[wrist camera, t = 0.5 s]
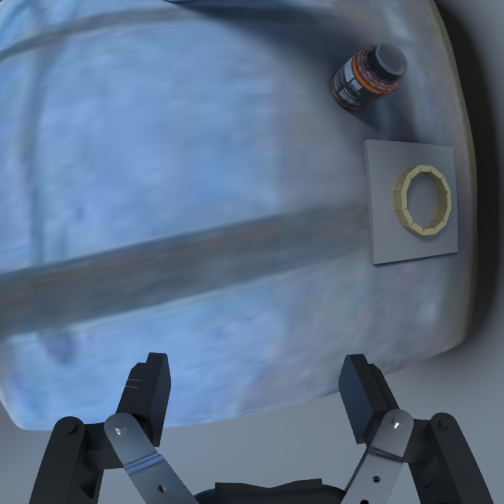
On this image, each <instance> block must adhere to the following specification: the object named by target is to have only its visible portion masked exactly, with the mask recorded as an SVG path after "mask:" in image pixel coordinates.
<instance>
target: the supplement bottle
mask: <svg viewBox="0 0 504 504" xmlns="http://www.w3.org/2000/svg"><path fill="white" fill-rule="evenodd" d="M406 70H407V60H406V58H405V56H404V54H403V53H402V52H401V50H400V49H398V48H397V47H396V46H394V45H392V44H390V43H381V44H379V45H378V46H375V45H370V46H365V47H363V48H362V49H360V50H359V51H358V52H357V53H356V54H355V55H354V56H352V57H351V58H350V59H349V60H348V61H347V62H346V63H345V64H344V65H343V66H342V67H341V68H340V69H339V70H338V71H337V72H336V73H335V74H334V75H333V77H332V79H331V82H330V89H331V93H332V95H333V97H334V98H335V100H336V101H337V102H338V103H339V104H340V105H342V106H343V107H345V108H347V109H350V110H360V109H362V108H365V107H366V106H368V105H370V104H371V103H373V102H375V101H376V100H378V99H380V98H382V97H383V96H385V95H387V94H389V93H390V92H392V91H393V90H395V89H396V88H397V87H398V86H399V85H400V83H401V80H402V75H403V74H404V73H405V72H406Z"/></svg>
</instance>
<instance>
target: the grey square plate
mask: <svg viewBox="0 0 504 504" xmlns="http://www.w3.org/2000/svg"><path fill="white" fill-rule="evenodd" d="M363 149H364V158H365V168H366V180H367V193H368V208H369V229H370V263H372V264H379V263H387V262H394V261H401V260H408V259H414V258H421V257H428V256H434V255H441V254H447V253H454V252H458V211H457V190H456V177H455V166H454V156H453V148H452V147H447V146H439V145H430V144H421V143H410V142H398V141H384V140H367V139H366V140H363ZM417 165H424V166H433V167H434V168H435V169H436V170H438V171H439V172H440V173H441V174H442V175H443V176H444V177H445V180H446V182H447V184H448V186H449V189H450V191H451V211H450V214H449V217H448V220H447V223H446V225H445V226H444V227H443V228H442V229H440V230H439V231H438V232H437V233H436V234H431V235H418V234H413V233H412V232H410V231H409V230H407V229H406V228H404V227H403V226H402V225H401V223H400V221H399V219H398V217H397V215H396V213H395V211H394V202H393V190H394V187H395V184H396V182H397V179H398V176H399V175H400V174H401V173H403V172H404V171H405V170H407V169H408V168H409V167H411V166H417ZM406 196H407V209H408V211H409V213H410V215H411V217H412V220H413V222H414V223H416V224H417V225H419V226H420V227H421V228H422V227H427V226H428V225H429V224H430V223H431V222H432V221H433V220H434V219H435V216H436V213H437V210H438V208H439V201H438V191H437V189H436V187H435V185H434V183H433V181H432V180H431V179H430V178H429V177H428V176H426V175H425V174H424V173H418V174H417V175H415V176H414V177H413V178H412V179H411V181H410V184H409V187H408V189H407V192H406Z"/></svg>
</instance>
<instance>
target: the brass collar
mask: <svg viewBox="0 0 504 504" xmlns="http://www.w3.org/2000/svg"><path fill="white" fill-rule="evenodd" d="M418 173H424V174H425V175H426V176H428V177H429V178H430V179H431V180H432V181H433V183H434V185H435V187H436V189H437V191H438V201H439V208H438V210H437V213H436V216H435V219H434V220H433V221H432V222H431V223H430V224H429V225H428V226H427V227H422V228H421V227H420V226H419V225H417V224H416V223H414V222H413V220H412V217H411V215H410V213H409V211H408V209H407V196H406V192H407V189H408V187H409V184H410V181H411V179H412V178H413V177H414V176H415V175H417V174H418ZM393 202H394V211H395V213H396V215H397V217H398V219H399V221H400V223H401V225H402V226H403V227H404V228H406V229H407V230H409V231H410V232H412V233H413V234H418V235H431V234H436V233H437V232H438V231H439V230H440V229H442V228H443V227H444V226H445V225H446V223H447V220H448V217H449V214H450V211H451V191H450V189H449V186H448V184H447V182H446V180H445V177H444V176H443V175H442V174H441V173H440V172H439V171H438V170H436V169H435V168H434V167H433V166H424V165H417V166H411V167H409V168H408V169H407V170H405V171H404V172H403V173H401V174H400V175H399V176H398V179H397V182H396V184H395V187H394V190H393Z"/></svg>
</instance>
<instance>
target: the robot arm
mask: <svg viewBox="0 0 504 504" xmlns="http://www.w3.org/2000/svg"><path fill="white" fill-rule="evenodd" d="M167 1H171V2H186V1H191V0H167ZM170 389H171V376H170V370H169V364H168V357H167V354H165V353H153V352H150V353H149V355H148V358H147V361H146V363H139V362H138V363H137V364H136V365H135V366H134V367H133V368H132V369H131V371H130V374H129V377H128V380H127V382H126V387H125V388H124V391H123V394H122V396H121V399H120V402H119V405H118V408H117V411H116V413H115V414H113V415H111V416H109V417H108V418H107V419H106V421H105V422H103V423H96V424H84V423H83V422H82V421H81V420H80V419H79V418H76V417H72V416H68V417H64V418H62V419H60V420H59V421H58V422H57V423H56V424H55V426H54V429H53V431H52V434H51V437H50V440H49V442H48V445H47V448H46V451H45V454H44V456H43V459H42V462H41V466H40V468H39V472H38V475H37V478H36V481H35V484H34V488H33V491H32V494H31V498H30V502H29V504H97V503H98V498H99V491H100V487H101V482H102V476H103V471H104V469H115V468H125V470H126V472H127V473H128V475H129V477H130V479H131V480H132V482H133V483H134V485H135V487H136V488H137V490H138V491H139V493H140V495H141V496H142V498H143V499H144V501H145V502H146V504H386V503H387V501H388V499H389V497H390V494H391V492H392V490H393V487H394V485H395V483H396V481H397V478H398V476H399V473H400V470H401V468H402V465H403V462H405V463H408V465H409V468H410V471H411V473H412V477H413V480H414V483H415V486H416V489H417V493H418V496H419V500H420V503H421V504H494V503H493V501H492V498H491V496H490V493H489V491H488V488H487V486H486V484H485V481H484V479H483V476H482V474H481V472H480V470H479V467H478V465H477V463H476V461H475V458H474V456H473V454H472V452H471V450H470V448H469V446H468V444H467V442H466V439H465V437H464V435H463V433H462V431H461V429H460V427H459V425H458V423H457V421H456V420H455V418H454V417H453V416H451V415H450V414H447V413H442V412H441V413H437V414H435V415H434V416H433V417H432V418H431V420H418V419H413V418H412V416H411V415H410V414H409V413H408V412H406V411H403V410H400V409H399V407H398V405H397V402H396V400H395V398H394V396H393V394H392V392H391V390H390V388H389V387H388V384H387V382H386V380H385V378H384V376H383V374H382V372H381V370H380V369H378V368H377V367H376V366H375V365H374V364H368V362H367V360H366V358H365V356H364V355H363V354H353V355H347V356H346V357H345V360H344V364H343V367H342V370H341V374H340V377H339V391H340V394H341V397H342V400H343V403H344V406H345V409H346V412H347V415H348V418H349V421H350V424H351V427H352V430H353V433H354V436H355V439H356V442H357V444H362V443H366V446H367V448H366V450H365V452H364V454H363V456H362V458H361V460H360V462H359V464H358V466H357V468H356V469H355V471H354V473H353V475H352V477H351V478H350V480H349V482H348V483H347V485H346V487H345V488H344V490H342V489H339V488H337V487H333V486H329V485H323V484H322V479H321V478H320V479H310V480H300V481H294V482H291V483H287V484H284V485H280V486H277V487H273V488H265V487H259V486H254V485H249V484H244V483H217V482H216V483H215V489H209V490H206V491H203V492H201V493H198V494H196V495H194V496H193V495H192V494H191V493H190V491H189V490H188V489H187V488H186V486H185V485H184V484H183V482H182V481H181V480H180V479H179V477H178V476H177V475H176V473H175V472H174V471H173V469H172V468H171V467H170V465H169V464H168V463H167V461H166V460H165V458H164V457H163V456H162V455H159V454H158V452H157V451H156V449H155V448H154V447H159V445H160V440H161V435H162V429H163V424H164V419H165V414H166V409H167V404H168V399H169V395H170Z"/></svg>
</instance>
